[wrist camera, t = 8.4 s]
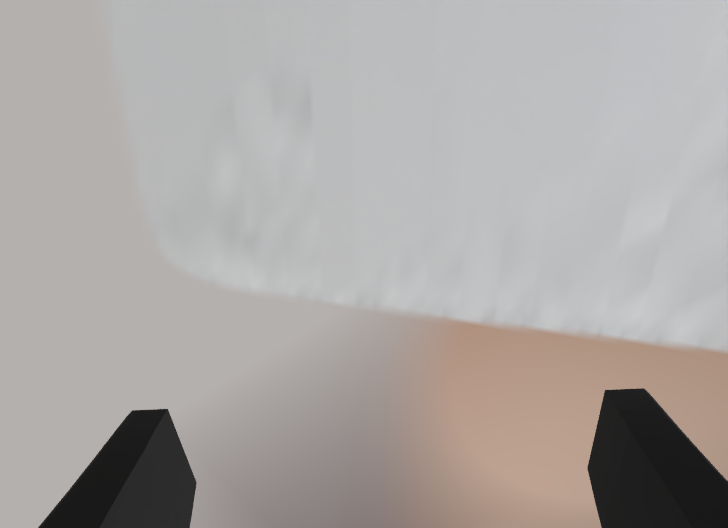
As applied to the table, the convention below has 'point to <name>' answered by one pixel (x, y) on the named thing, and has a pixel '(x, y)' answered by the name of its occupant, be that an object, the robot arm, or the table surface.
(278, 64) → the table surface
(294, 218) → the table surface
